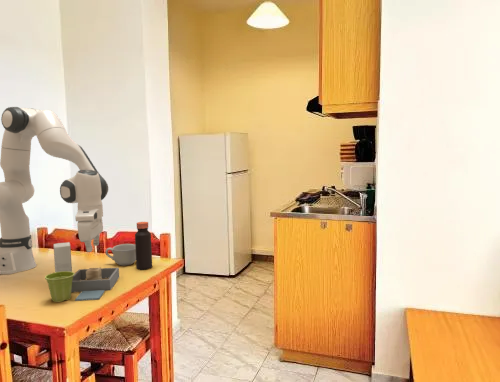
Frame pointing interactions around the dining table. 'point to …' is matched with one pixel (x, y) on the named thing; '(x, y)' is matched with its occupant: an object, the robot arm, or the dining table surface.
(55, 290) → the plant pot
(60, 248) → the small box
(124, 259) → the teacup
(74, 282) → the bin
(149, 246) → the bottle
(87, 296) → the pad
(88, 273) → the block
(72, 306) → the dining table surface
